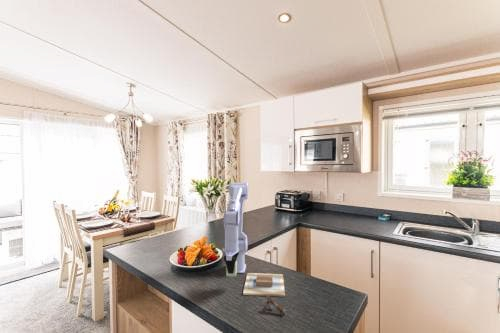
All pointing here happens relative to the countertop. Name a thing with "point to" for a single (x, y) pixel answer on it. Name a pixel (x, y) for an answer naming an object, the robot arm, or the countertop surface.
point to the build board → (264, 292)
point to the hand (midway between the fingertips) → (231, 270)
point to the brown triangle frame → (274, 305)
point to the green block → (233, 272)
